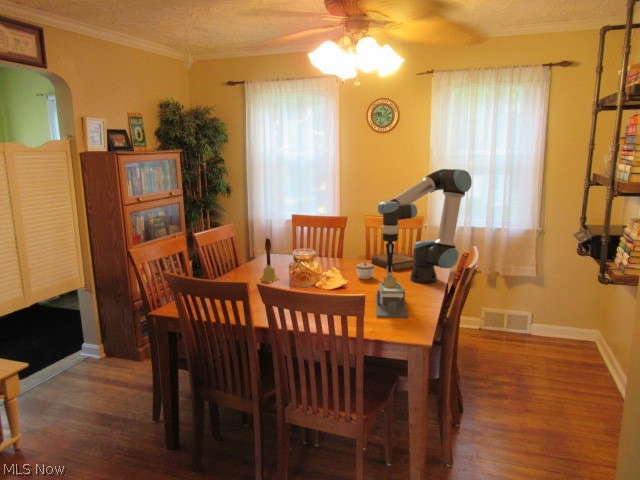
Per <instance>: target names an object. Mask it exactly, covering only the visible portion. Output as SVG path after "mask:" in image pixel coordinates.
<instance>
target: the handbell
mask: <svg viewBox="0 0 640 480" xmlns="http://www.w3.org/2000/svg"><path fill="white" fill-rule="evenodd" d="M264 249H265V254H266V266H265V267H264V268H263V274H262V276H261V277H259V279H258V281H259V280H261V281H276V282H278V281H280V280H279V278H280V277H279V276H277V274H276V271H275V268H274V267H273V266H272V265H271V264H272V263H271V250H272V245H271V239H270V238H268V237H267V238H265V242H264ZM277 280H278V281H277ZM261 281H260V282H261Z"/></svg>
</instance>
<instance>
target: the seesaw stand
mask: <svg viewBox="0 0 640 480" xmlns="http://www.w3.org/2000/svg"><path fill="white" fill-rule="evenodd" d="M376 291H377V292H376V293H375V302H376V303H375V307H376V318H380V317H384V318H385V319H387V318H388V319H390V318H391V319H401V318H402V319H408V318H409V315H408V310H407V306H406V291H405V289H403V291H404V297H381V291H380V288H378V289H376ZM386 317H387V318H386Z"/></svg>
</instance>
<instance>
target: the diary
mask: <svg viewBox="0 0 640 480" xmlns="http://www.w3.org/2000/svg"><path fill="white" fill-rule="evenodd" d="M392 263H393V266H392V272H396V271H402V270H408V269H413V267H414V257H410V256H406V255H403V254H399V253H396V252H393V262H392ZM371 264H373V265H374V266H378V267H380V268H384V269H386V270H387V266H386V265H387V253H385V254H378V255H373V256H371Z"/></svg>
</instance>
